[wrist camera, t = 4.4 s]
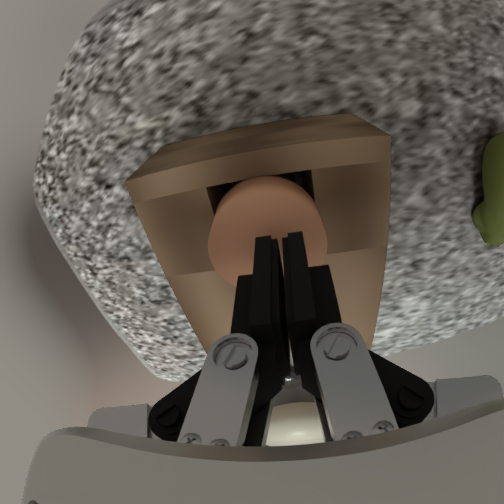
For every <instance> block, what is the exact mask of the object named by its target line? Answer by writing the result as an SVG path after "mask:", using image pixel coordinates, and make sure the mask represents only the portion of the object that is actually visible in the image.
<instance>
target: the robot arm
mask: <svg viewBox="0 0 504 504" xmlns="http://www.w3.org/2000/svg"><path fill="white" fill-rule="evenodd" d="M287 235H288V237H284V238H282V248H283V265H284V274H283V268H282V262H281V256H280V250H279V245H278V240H277V239H272V237H271V235H269V236H261V237H256V238H255V250H254V263H253V274H248V275H239V276H238V279H237V286H236V293H235V301H234V308H233V316H232V324H231V331H230V334H228V335H225V336H223V337H221V338H219V339H218V340H216V341H215V342H214V343H213V344H212V346H211V348H210V349H209V351H208V354H207V357H206V360H205V363H204V365H203V368H202V369H201V370H200V371H198V372H197V373H196V374H195V375H193V376H192V377H191V378H189V379H188V380H187V381H185V382H184V383H183V384H181V385H180V386H179V387H177V388H176V389H174V390H173V391H172V392H170V393H169V394H168V395H166V396H165V397H164V398H162V399H161V400H159V401H158V402H157V403H156V404H155V405H154V406H149V405H148V404H140V405H131V406H120V407H108V408H100V409H97V410H96V411H95V412H93V413H92V415H91V416H90V418H89V421H88V427H68V428H63V429H59V430H56V431H53V432H51V433H49V434H47V435H46V436H45V437H44V438H43V439H42V440H41V442H40V443H39V445H38V447H37V449H36V451H35V453H34V456H33V459H32V461H31V465H30V468H29V471H28V475H27V479H26V483H25V487H24V492H23V498H22V504H504V398H503V393H502V388H501V385H500V383H499V382H498V380H497V379H495V378H494V377H492V376H489V375H482V376H473V377H463V378H451V379H436V381H435V382H426V381H424V380H423V379H421V378H419V377H418V376H416V375H414V374H412V373H410V372H408V371H407V370H405V369H403V368H401V367H399V366H397V365H395V364H394V363H392V362H390V361H388V360H386V359H384V358H383V357H381V356H379V355H377V354H375V353H374V352H372V351H370V350H368V349H367V347H366V345H365V342H364V340H363V338H362V336H361V334H360V333H359V331H358V330H357V329H355V328H354V327H353V326H351V325H348V324H345V323H342V319H341V315H340V310H339V305H338V301H337V297H336V292H335V288H334V284H333V280H332V275H331V271H330V267H329V265H320V266H313V267H308V261H307V255H306V249H305V243H304V237H303V232H302V231H298V232H291V233H287ZM289 340H290V342H289ZM290 346H291V352H292V358H293V364H294V370H295V375H296V376H297V375H301V382H302V388H303V389H305V390H306V391H308V392H309V393H310V394H312V395H313V396H314V402H315V406H316V410H317V414H318V418H319V422H320V426H321V430H322V434H323V439H324V442H323V443H314V444H303V445H289V446H265V445H266V440H267V436H268V431H269V426H270V420H271V415H272V410H273V405H274V397H275V396H276V395H277V394H278V393H279V392H280V391H281V390H282V385H285V377H287V376H291V369H290Z"/></svg>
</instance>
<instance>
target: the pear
mask: <svg viewBox="0 0 504 504" xmlns="http://www.w3.org/2000/svg"><path fill="white" fill-rule="evenodd" d="M482 182H483V191H484V200H483V201H482V202H481V203H480V204H479V205H478V206H477V207H476V208H475V209H474V211H473V222H474V224H475V226H476V227H477V228H478V230H479V232H480V234H481V236H482V239H483V240H484V242H485V243H487V244H490V245H496V246H497V247H498V246H500V245H501V244H503V243H504V133H499V134H497V135H495V136H494V137H492V138H491V139H490V141H489V142H488V143H487V145H486V147H485V150H484V153H483V160H482Z"/></svg>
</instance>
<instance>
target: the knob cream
mask: <svg viewBox="0 0 504 504" xmlns="http://www.w3.org/2000/svg"><path fill="white" fill-rule="evenodd" d="M323 442H324V439H323V434H322V430H321V426H320V422H319V418H318V414H317V410H316V406H315V402H314V396H313V395H312V394H310V393H309V392H308V391H306V390H305V389H303V388H302V384H301V385H300V386H298V387H296V388H292V389H282V390H281V391H280V392H279V393H278V394H277V395H276V396H275V397H274V405H273V410H272V415H271V420H270V426H269V431H268V436H267V440H266V445H268V446H289V445H303V444H314V443H323Z"/></svg>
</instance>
